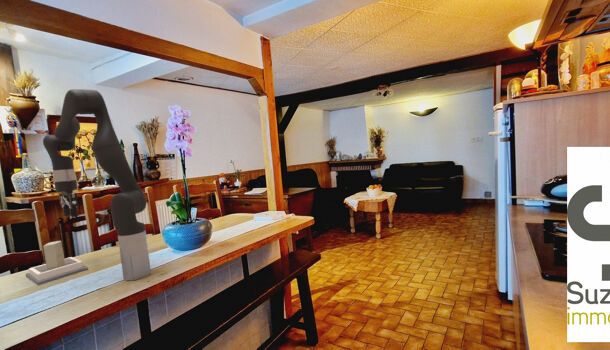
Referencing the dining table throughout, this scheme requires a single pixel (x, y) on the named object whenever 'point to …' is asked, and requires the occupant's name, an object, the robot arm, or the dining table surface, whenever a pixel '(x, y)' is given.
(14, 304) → the dining table surface
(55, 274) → the pocket board
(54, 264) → the skincare box
